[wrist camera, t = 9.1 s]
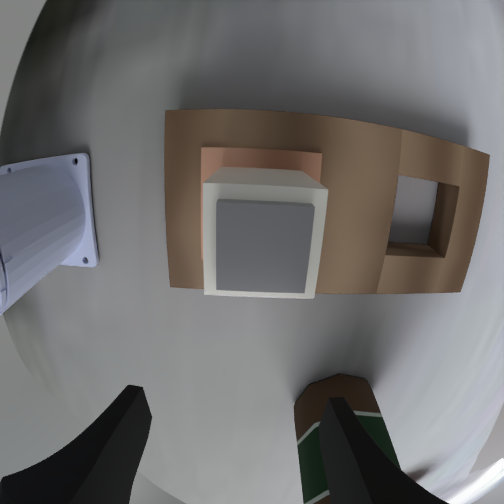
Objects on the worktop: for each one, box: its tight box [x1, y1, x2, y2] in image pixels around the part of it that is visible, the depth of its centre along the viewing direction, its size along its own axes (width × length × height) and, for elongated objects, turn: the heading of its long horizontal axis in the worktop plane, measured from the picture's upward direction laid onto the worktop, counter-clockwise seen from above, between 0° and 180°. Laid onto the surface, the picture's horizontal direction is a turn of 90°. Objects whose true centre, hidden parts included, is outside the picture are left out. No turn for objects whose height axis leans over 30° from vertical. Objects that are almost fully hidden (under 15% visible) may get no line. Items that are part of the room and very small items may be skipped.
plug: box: [203, 167, 328, 299], centre depth 12 cm, size 4×4×6 cm
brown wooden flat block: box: [165, 109, 490, 294], centre depth 16 cm, size 20×10×3 cm, turn 88°
